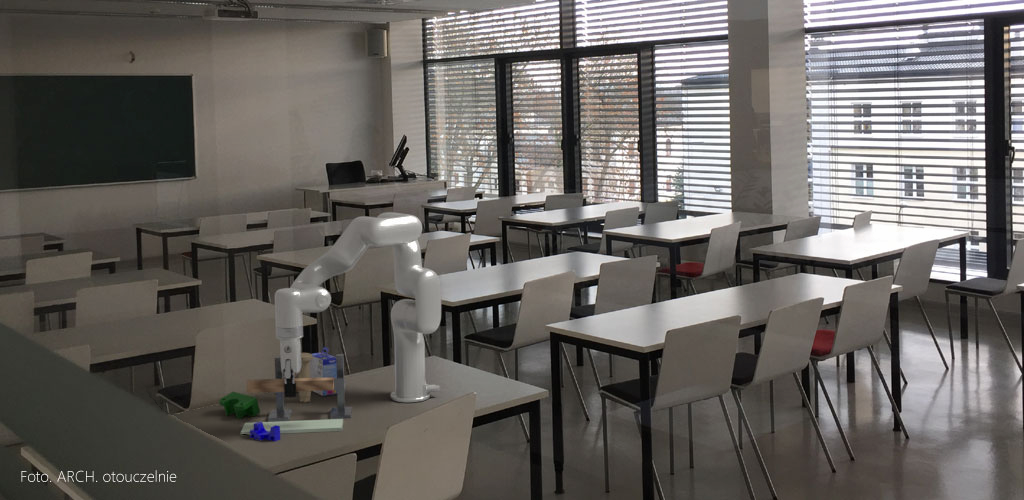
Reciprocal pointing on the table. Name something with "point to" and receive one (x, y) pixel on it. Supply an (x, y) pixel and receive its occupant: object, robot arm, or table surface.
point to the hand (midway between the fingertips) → (291, 394)
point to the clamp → (240, 405)
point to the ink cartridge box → (323, 368)
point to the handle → (305, 375)
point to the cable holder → (265, 432)
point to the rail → (301, 383)
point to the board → (299, 426)
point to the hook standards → (338, 385)
